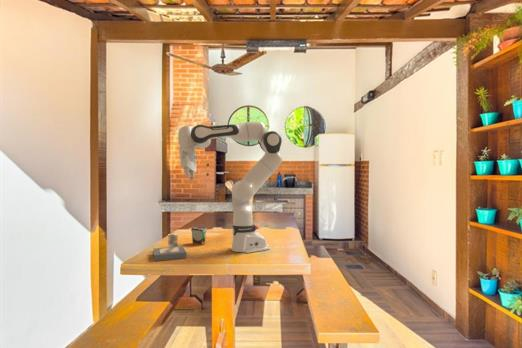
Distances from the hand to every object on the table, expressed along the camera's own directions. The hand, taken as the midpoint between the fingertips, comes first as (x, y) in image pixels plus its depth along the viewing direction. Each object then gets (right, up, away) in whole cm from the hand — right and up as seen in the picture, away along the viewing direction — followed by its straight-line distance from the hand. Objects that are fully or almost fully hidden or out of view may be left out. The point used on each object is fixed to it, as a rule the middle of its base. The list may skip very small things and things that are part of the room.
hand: (189, 178), depth 189 cm
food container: (+2, -41, +25) cm, 48 cm away
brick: (-12, -42, +9) cm, 44 cm away
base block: (-10, -42, -5) cm, 43 cm away
